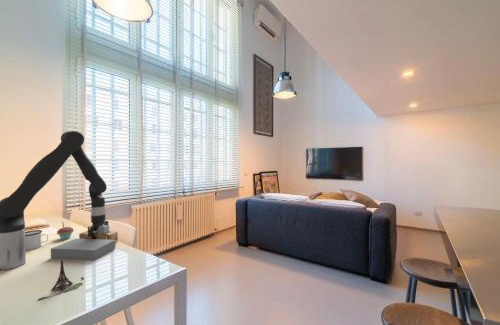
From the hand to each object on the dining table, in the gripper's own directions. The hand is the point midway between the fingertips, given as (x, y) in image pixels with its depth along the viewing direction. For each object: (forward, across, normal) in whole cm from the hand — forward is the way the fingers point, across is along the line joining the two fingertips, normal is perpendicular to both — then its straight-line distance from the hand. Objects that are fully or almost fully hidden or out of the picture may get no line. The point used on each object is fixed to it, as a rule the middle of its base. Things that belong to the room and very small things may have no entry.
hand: (98, 240), depth 141 cm
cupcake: (+2, +6, +28) cm, 29 cm away
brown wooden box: (+2, 0, 0) cm, 2 cm away
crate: (-5, 0, -4) cm, 6 cm away
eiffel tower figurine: (+2, -48, -24) cm, 53 cm away
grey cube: (-5, 0, +3) cm, 6 cm away
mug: (+2, -10, +32) cm, 34 cm away
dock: (+1, -16, -4) cm, 16 cm away
